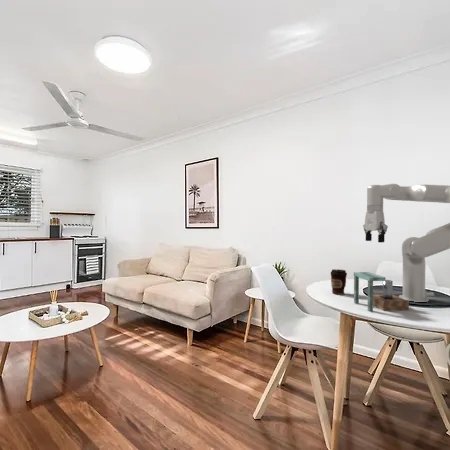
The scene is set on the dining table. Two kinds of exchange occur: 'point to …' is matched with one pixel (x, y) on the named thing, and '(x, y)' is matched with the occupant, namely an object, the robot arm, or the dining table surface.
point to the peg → (387, 289)
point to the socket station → (377, 299)
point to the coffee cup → (338, 281)
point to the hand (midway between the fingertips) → (374, 241)
